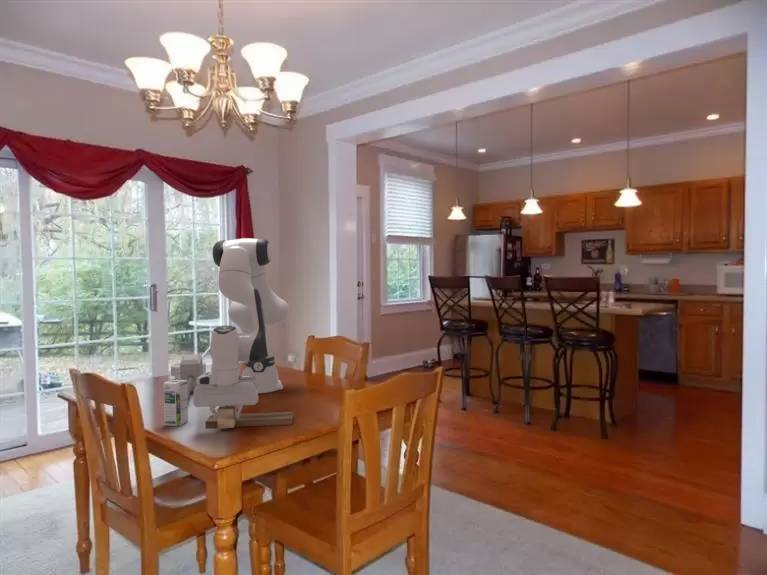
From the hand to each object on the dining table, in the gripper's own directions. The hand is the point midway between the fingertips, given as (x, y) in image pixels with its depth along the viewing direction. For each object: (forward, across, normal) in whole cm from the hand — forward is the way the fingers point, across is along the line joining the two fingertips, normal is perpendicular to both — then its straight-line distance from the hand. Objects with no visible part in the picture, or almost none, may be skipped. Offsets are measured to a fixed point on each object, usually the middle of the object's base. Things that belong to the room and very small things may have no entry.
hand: (226, 418), depth 169 cm
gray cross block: (+4, +32, -76) cm, 83 cm away
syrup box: (+4, +18, -9) cm, 21 cm away
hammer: (+4, +23, -43) cm, 49 cm away
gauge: (+2, 0, -4) cm, 5 cm away
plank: (+4, -7, -7) cm, 10 cm away
